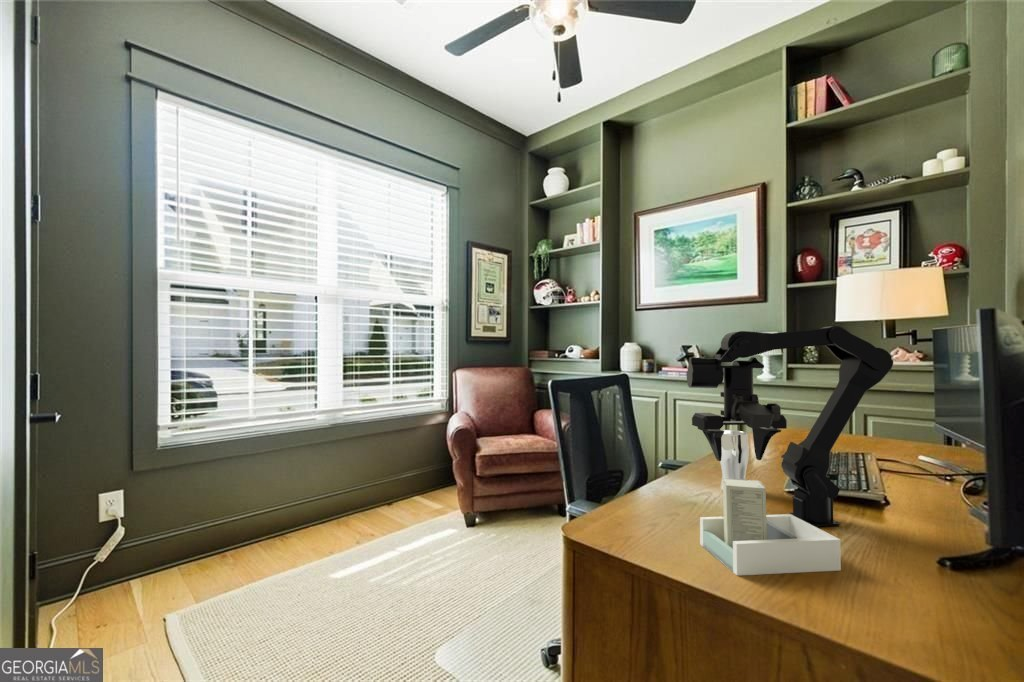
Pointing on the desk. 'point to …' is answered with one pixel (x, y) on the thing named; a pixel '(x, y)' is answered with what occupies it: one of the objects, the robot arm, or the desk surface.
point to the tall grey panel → (777, 532)
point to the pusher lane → (774, 548)
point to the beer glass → (734, 454)
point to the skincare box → (744, 510)
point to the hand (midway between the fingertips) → (738, 460)
